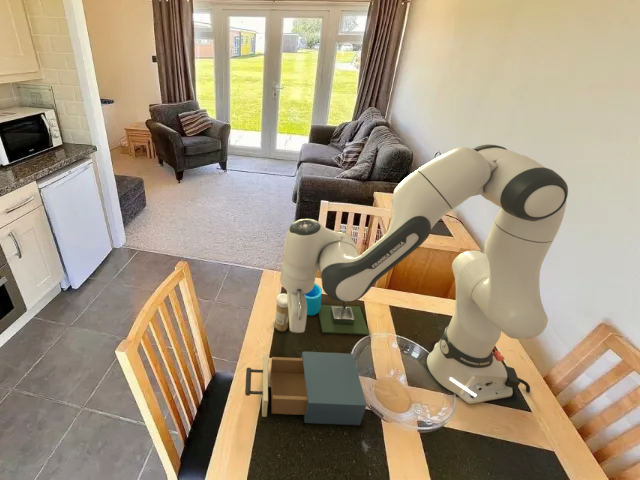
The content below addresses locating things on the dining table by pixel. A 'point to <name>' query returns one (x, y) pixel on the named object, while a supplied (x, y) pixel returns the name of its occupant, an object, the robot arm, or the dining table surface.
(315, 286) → the mug
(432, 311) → the dining table surface
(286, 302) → the sprinkles bottle
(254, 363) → the dining table surface
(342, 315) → the metal tray
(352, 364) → the cabinet
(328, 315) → the mat
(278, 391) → the drawer
